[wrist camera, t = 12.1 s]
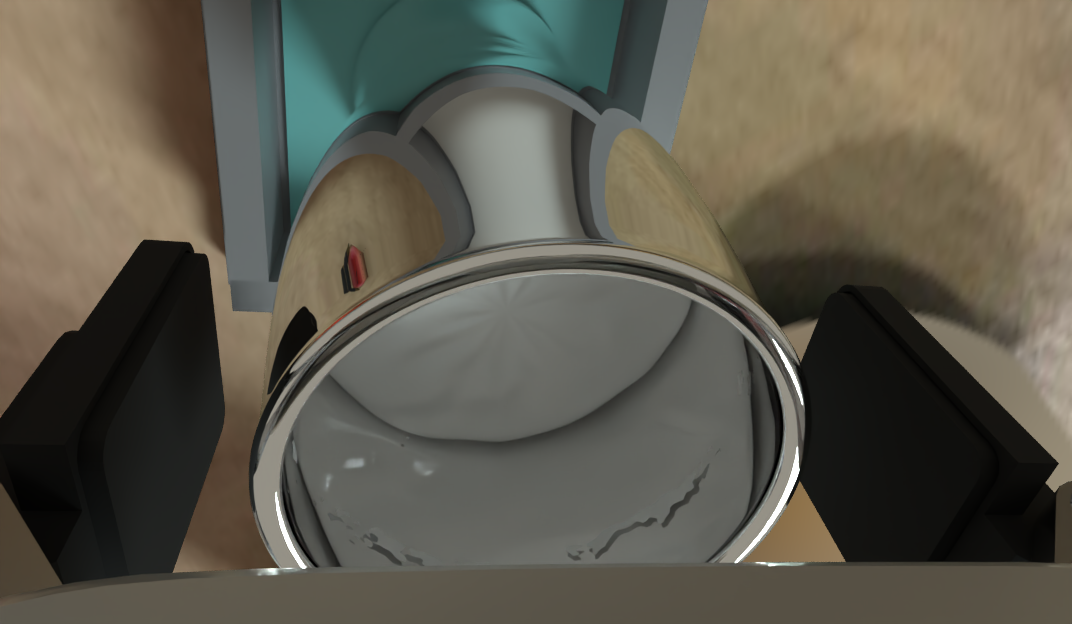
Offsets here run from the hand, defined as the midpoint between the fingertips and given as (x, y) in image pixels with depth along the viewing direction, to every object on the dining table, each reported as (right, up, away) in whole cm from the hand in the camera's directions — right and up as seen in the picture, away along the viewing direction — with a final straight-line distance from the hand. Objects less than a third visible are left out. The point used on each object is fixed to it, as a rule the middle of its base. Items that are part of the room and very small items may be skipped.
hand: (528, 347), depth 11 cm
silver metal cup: (-2, +7, +10) cm, 12 cm away
